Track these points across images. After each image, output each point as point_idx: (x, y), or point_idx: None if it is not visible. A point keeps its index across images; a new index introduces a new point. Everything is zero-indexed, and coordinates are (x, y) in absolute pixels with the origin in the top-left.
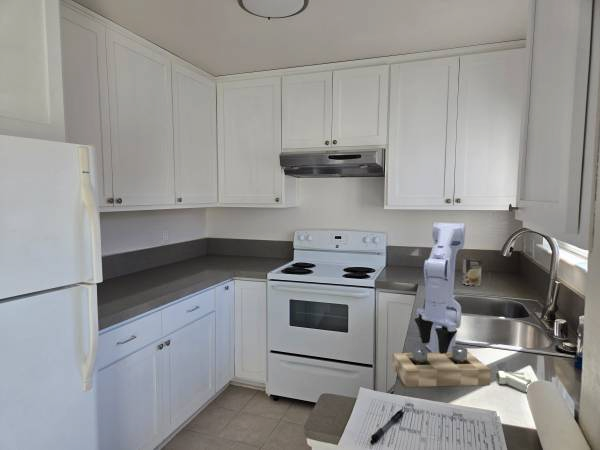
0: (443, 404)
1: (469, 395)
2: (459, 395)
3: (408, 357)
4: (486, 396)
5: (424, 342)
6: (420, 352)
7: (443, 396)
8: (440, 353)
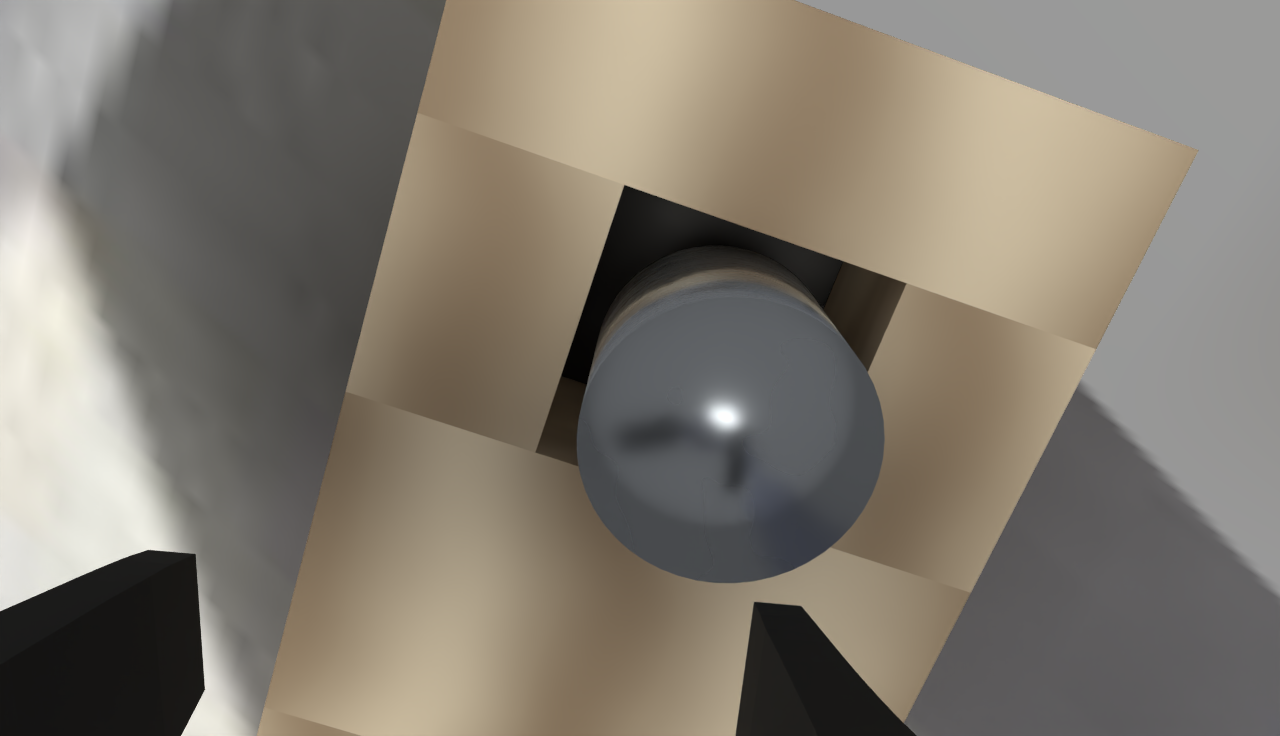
0: (23, 95)
1: (136, 515)
2: (160, 419)
3: (911, 298)
4: None
5: (749, 636)
6: (603, 358)
7: (184, 232)
8: (160, 551)
